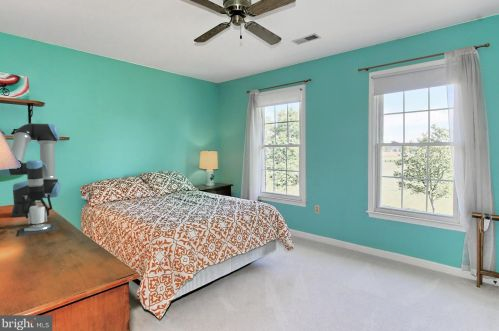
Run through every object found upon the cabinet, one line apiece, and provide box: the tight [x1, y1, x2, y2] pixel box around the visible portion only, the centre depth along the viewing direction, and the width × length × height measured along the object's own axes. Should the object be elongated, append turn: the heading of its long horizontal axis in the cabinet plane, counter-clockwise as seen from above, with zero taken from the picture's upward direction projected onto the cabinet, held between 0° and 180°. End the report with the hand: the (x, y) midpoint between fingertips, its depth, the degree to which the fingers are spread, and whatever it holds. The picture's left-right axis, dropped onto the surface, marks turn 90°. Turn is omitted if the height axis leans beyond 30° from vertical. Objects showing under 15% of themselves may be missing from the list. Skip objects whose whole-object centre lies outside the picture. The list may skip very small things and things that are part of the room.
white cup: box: [29, 204, 46, 225], centre depth 166 cm, size 8×8×10 cm
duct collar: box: [18, 222, 56, 237], centre depth 154 cm, size 14×16×2 cm
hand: (37, 222), depth 166 cm, fingers closed on white cup, 7 cm apart
